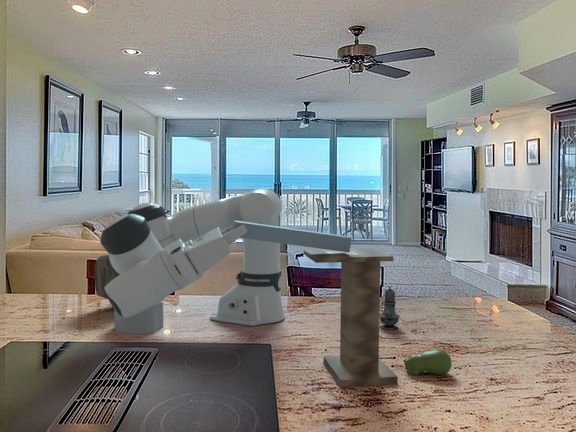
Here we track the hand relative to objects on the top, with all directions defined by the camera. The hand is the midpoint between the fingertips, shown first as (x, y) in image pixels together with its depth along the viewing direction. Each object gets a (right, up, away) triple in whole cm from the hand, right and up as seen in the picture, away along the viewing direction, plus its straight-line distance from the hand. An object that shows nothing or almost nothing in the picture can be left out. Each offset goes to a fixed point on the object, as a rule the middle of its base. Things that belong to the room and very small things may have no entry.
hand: (244, 226), depth 101 cm
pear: (+39, -32, +7) cm, 51 cm away
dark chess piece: (+37, -30, +41) cm, 63 cm away
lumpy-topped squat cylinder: (-33, -30, +40) cm, 60 cm away
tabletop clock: (-45, -28, +61) cm, 81 cm away
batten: (+9, -4, +2) cm, 10 cm away
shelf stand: (+21, -32, +7) cm, 39 cm away
